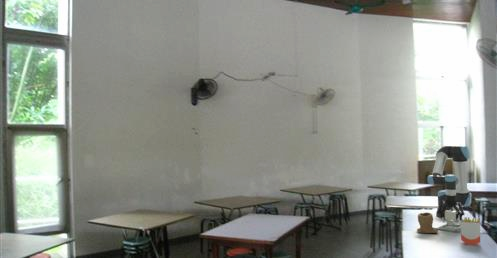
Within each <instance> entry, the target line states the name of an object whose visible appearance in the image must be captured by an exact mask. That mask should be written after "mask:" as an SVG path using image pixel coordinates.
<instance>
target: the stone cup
mask: <svg viewBox="0 0 497 258" xmlns="http://www.w3.org/2000/svg"><path fill="white" fill-rule="evenodd" d="M417 221H418V224H419V227H418V228H417V229H416V231H417V232H418V233H420V234H421V233H423V234H438V232H439V230H438V228H439V227H433V223H434V216H433V213H431V212H428V211H427V212H420V213H418V215H417Z"/></svg>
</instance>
